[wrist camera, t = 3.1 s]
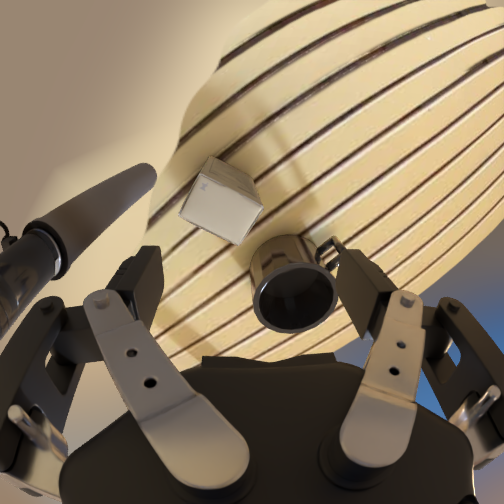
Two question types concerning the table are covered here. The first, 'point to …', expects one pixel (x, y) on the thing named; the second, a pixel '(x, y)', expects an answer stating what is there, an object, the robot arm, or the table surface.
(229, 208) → the cosmetic box
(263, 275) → the mug
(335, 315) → the table surface
